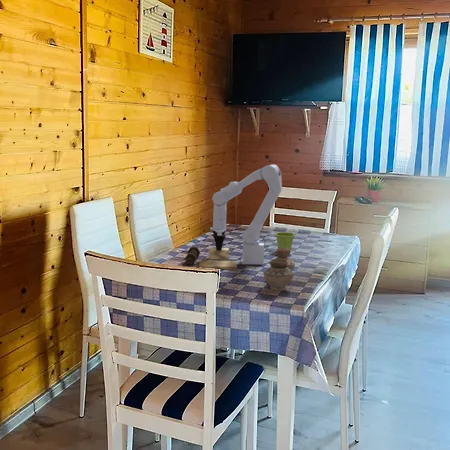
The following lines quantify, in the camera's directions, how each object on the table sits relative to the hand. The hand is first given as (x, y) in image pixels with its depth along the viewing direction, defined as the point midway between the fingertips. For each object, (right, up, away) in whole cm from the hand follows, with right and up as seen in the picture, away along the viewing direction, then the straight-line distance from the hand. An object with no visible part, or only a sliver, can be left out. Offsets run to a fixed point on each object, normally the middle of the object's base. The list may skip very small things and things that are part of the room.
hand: (218, 248), depth 244 cm
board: (0, -7, -10) cm, 13 cm away
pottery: (+24, -12, -34) cm, 43 cm away
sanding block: (0, -5, +1) cm, 5 cm away
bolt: (-12, -6, -4) cm, 14 cm away
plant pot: (+31, -3, +20) cm, 37 cm away
